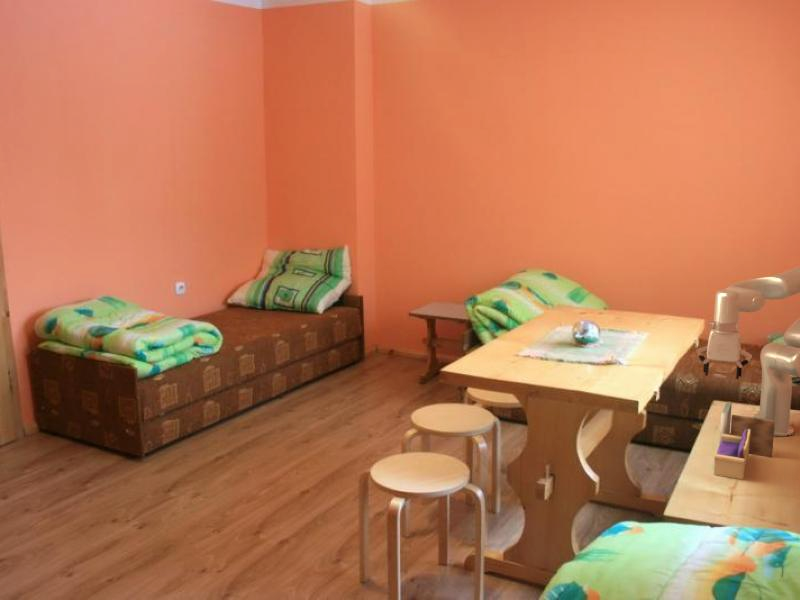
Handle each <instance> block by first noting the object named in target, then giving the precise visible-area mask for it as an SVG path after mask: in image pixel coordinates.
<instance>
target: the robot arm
mask: <svg viewBox="0 0 800 600" xmlns="http://www.w3.org/2000/svg"><path fill="white" fill-rule="evenodd" d="M797 294H800V265H798V266H796V267H793V268H790V269H788V270H786V271H782V272H780V273H778V274H774V275H771V276H762V277H758V278H752V279H746V280H742V281H739V282H736V283H734V284H733V283H732V284H731V285H729V286H728V287H726V288H725V289H721V290H718V291H716V293H715V296H714V297H715V299H714V312H713V313H714V314H713V321H711V322H708V327H710V328H712V329H710V332H709V334H708V335H709V336H708V340H707V341H708V342H707V345H706V346H702V347H700V348H697V349H696V350H695V353H696V354H697V356H698V359H699V360H700V361H701V363H703V370H702V371H703V373H704V376H708V375H709V368H710V361H717V362H727V363H735V364H736V365H737V366H736V374H735V379H736V380H739V378H740V377H742V374H743V373H742V370H743V368H744V367H745V366H746V365H747V364H748V363H750V361H751V360H752V358H753V355H752V354H751V353H749V352H747V351H746V350H744V349H742V348H741V347H742V346H741V344H742V343H741V334H740V331H739V317H740V312H741V313H756V312H759V311H760V310H761V309H763V308H764V307H765V304H766V300H773V301H774V300H783V299H787V298H789V297H792V296H794V295H797ZM786 329H787V330H785V332H784V334H783V341H784V343H781V342H770V343H767V344H765V345H764V346H763V347H762V348H761V351H760V354H759V355H760V357H759V359H760V365H761V387H760V388H761V389H760V400H759V401H760V402H759V411H757V412H755V413H753V416H752V417H753V418H760V419H767V420H775V425H774V437H788V436H787V435H789V436H791V434H792V435H793V434H794V433H795V432H794V428H793V427H792V426H790V420H791V419H790V417H791V416H790V415H791V404H792V392H793V380H792V376H793V377H796V378H800V316H799V317H798V318H797V319H796V320H794V322H793V323H792V324H791V325H790V326H789V327H788V328H786ZM705 351H706V357H705V356H704V355H703V354H702V352H705ZM741 355H742V356H744V357H745V359H743V360H741V359H740V357H741ZM793 432H794V433H793Z"/></svg>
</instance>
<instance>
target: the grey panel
mask: <svg viewBox="0 0 800 600" xmlns="http://www.w3.org/2000/svg"><path fill="white" fill-rule="evenodd" d="M732 404H733V403H732V402H731V401H726V402H725V405H724V407H723V410H722V412H721V413H720V429H719V445H720V442H721V435H722V434H728V435H730V434H731V420H732V406H733V405H732ZM719 445H718V446H719Z"/></svg>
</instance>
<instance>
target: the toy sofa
mask: <svg viewBox="0 0 800 600" xmlns="http://www.w3.org/2000/svg"><path fill="white" fill-rule="evenodd" d="M750 432H751V430H750V429H745V430H744V432H743V435H742V437H740V436H734V435H731V434H729V435H728V434H722V435H721V442H720V441H719V443H720V445H718V448H717V451H716V453H714V468H713V475H715V476H719V477H720V476H721V477H727V478H731V479H738V480H744V478H745V467H746V462H747V459H749V455H750V454H749V444H750Z"/></svg>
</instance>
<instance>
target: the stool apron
mask: <svg viewBox="0 0 800 600" xmlns="http://www.w3.org/2000/svg"><path fill="white" fill-rule="evenodd" d="M774 425H775V420H767V419H760V418H754V417H753V416H743V415H738V414H737V415H736V414H731V421H730V435H734V436H740V437H742V435H743V432H744V430H745V429H750V430H751V432H750V444H749V455H754V456H761V457H766V458H773V452H774V450H773V449H774V437H775V436H774Z"/></svg>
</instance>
